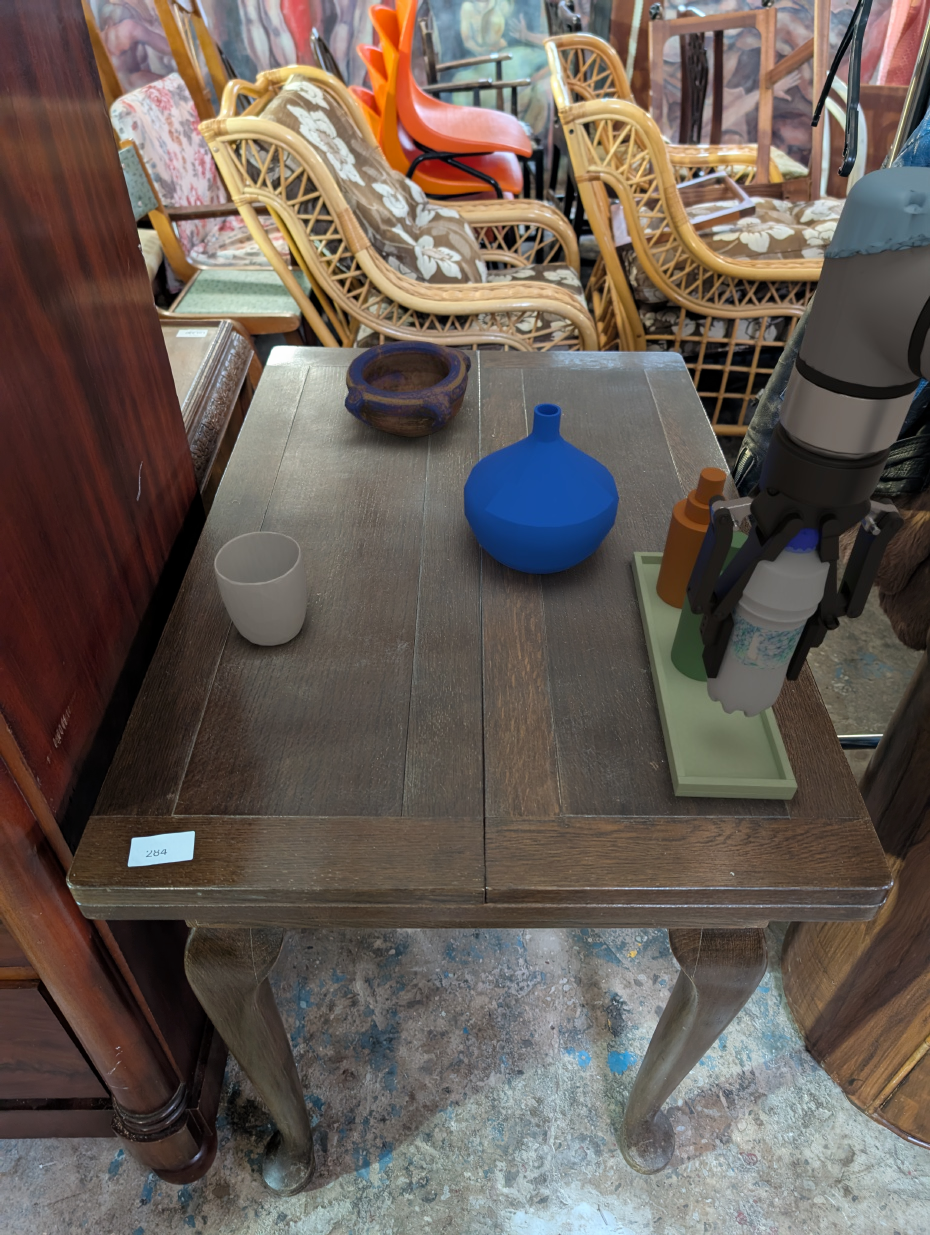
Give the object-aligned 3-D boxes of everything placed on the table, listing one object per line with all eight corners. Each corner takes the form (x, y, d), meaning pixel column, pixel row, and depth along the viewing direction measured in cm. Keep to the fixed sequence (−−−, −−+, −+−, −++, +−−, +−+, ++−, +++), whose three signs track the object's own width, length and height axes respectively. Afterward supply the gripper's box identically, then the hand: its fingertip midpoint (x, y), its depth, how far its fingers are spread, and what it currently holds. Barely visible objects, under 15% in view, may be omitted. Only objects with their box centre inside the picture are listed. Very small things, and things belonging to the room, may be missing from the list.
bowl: (333, 447, 117) (325, 383, 110) (372, 391, 130) (367, 331, 123) (451, 462, 114) (450, 398, 107) (479, 403, 127) (480, 343, 120)
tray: (791, 800, 72) (798, 787, 71) (674, 796, 72) (678, 783, 71) (718, 566, 97) (721, 553, 95) (631, 564, 97) (633, 551, 96)
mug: (312, 652, 86) (299, 581, 79) (227, 658, 85) (207, 587, 78) (315, 577, 95) (304, 508, 88) (239, 582, 94) (222, 512, 88)
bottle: (716, 659, 75) (774, 480, 62) (786, 690, 72) (863, 510, 59) (687, 703, 71) (741, 521, 58) (759, 738, 68) (835, 555, 55)
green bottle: (741, 678, 82) (784, 557, 71) (682, 684, 81) (716, 563, 71) (718, 635, 87) (755, 516, 76) (662, 641, 86) (691, 521, 75)
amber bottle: (720, 607, 90) (756, 488, 79) (666, 612, 90) (694, 493, 79) (700, 571, 95) (731, 455, 84) (648, 576, 94) (673, 459, 83)
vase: (475, 604, 92) (478, 461, 79) (453, 512, 105) (452, 377, 92) (628, 589, 94) (656, 447, 81) (588, 501, 107) (605, 366, 94)
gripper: (954, 407, 56) (845, 640, 72) (681, 401, 56) (633, 634, 72) (1003, 465, 50) (874, 704, 66) (701, 458, 51) (643, 697, 67)
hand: (748, 667), depth 69 cm, fingers closed on bottle, 6 cm apart
